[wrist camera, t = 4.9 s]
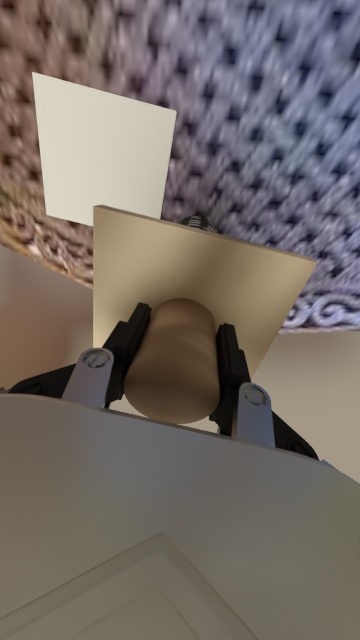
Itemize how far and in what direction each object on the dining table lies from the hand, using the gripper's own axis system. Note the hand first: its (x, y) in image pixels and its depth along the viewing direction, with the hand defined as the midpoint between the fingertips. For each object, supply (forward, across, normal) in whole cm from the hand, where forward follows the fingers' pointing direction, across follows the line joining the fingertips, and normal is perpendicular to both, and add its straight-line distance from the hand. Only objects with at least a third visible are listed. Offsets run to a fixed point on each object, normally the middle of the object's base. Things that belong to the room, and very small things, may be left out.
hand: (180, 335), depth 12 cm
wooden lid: (+2, 0, 0) cm, 2 cm away
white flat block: (+26, +15, -6) cm, 31 cm away
